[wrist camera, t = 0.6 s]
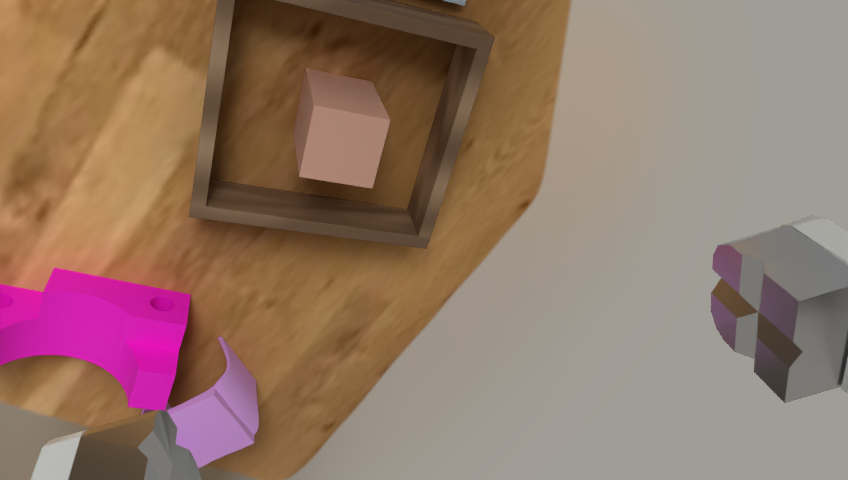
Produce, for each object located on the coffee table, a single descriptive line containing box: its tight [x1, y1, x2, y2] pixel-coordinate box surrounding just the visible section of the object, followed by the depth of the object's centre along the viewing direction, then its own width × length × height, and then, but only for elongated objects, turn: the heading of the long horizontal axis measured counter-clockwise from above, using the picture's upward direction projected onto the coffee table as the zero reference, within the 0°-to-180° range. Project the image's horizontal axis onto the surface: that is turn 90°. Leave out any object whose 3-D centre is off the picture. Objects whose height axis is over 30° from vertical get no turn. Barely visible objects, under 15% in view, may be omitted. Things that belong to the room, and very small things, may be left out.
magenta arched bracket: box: [0, 268, 191, 411], centre depth 52 cm, size 15×6×8 cm, turn 67°
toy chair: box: [141, 336, 259, 468], centre depth 54 cm, size 8×9×15 cm
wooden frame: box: [189, 0, 495, 249], centre depth 48 cm, size 17×18×4 cm
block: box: [293, 68, 391, 188], centre depth 47 cm, size 5×5×8 cm
